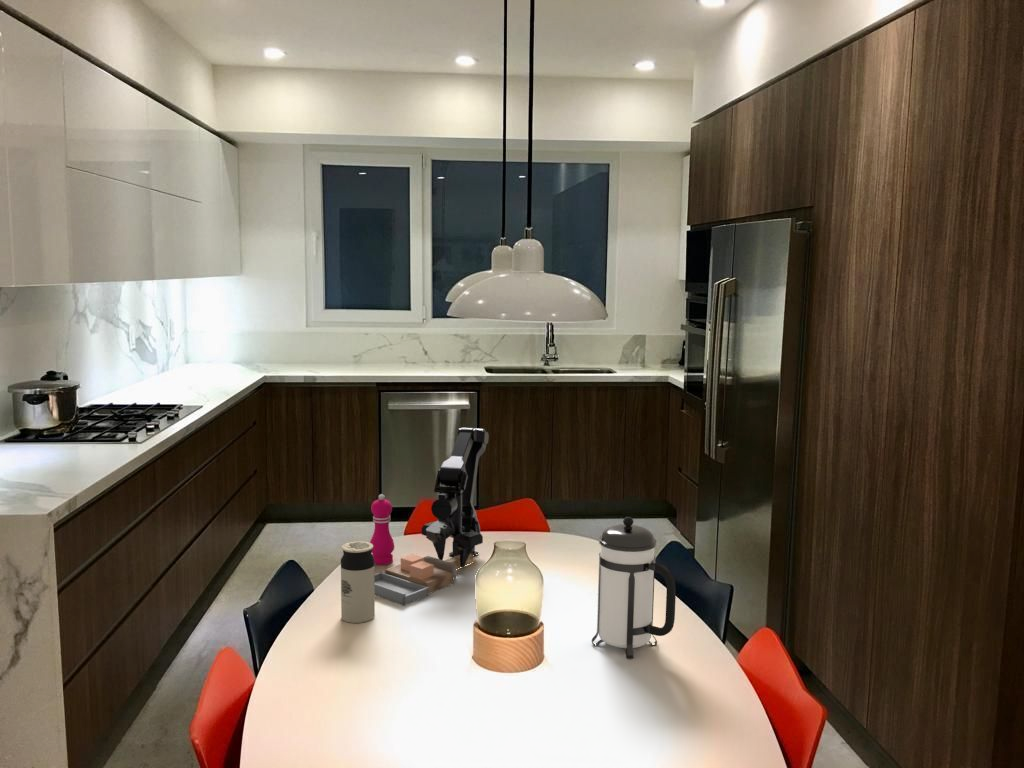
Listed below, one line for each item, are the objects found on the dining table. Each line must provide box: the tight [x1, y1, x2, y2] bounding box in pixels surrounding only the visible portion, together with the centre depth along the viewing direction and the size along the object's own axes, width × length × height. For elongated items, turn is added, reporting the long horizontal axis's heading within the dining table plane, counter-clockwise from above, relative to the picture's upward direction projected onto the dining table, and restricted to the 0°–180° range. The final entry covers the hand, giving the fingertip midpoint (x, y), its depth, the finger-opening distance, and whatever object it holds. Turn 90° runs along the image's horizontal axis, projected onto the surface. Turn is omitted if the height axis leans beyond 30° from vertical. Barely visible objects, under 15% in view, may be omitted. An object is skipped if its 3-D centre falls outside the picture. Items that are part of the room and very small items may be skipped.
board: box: [384, 563, 454, 594], centre depth 236 cm, size 10×16×3 cm, turn 51°
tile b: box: [410, 561, 434, 580], centre depth 232 cm, size 4×4×3 cm
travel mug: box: [340, 541, 376, 624], centre depth 210 cm, size 8×8×18 cm
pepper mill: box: [369, 493, 395, 566], centre depth 251 cm, size 7×7×20 cm
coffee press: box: [591, 516, 677, 659], centre depth 196 cm, size 17×16×30 cm
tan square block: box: [400, 553, 425, 571], centre depth 238 cm, size 4×4×3 cm
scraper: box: [423, 553, 474, 579], centre depth 247 cm, size 14×11×4 cm
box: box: [374, 571, 430, 607], centre depth 228 cm, size 9×18×3 cm, turn 51°
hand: (451, 563), depth 246 cm, fingers open, 8 cm apart
